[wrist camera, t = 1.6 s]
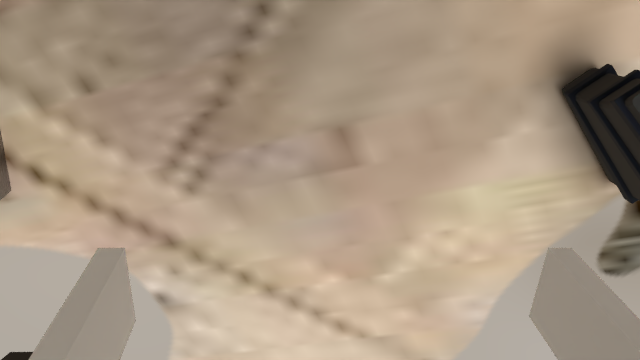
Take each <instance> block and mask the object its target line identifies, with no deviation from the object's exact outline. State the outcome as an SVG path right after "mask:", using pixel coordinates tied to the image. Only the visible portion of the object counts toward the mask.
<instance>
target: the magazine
mask: <svg viewBox="0 0 640 360" xmlns="http://www.w3.org/2000/svg"><path fill="white" fill-rule="evenodd" d="M562 92H563V94H564V96H565V98H566V100H567V102H568V103H569V105H570V107H571V109H572V111H573V113H574V115H575V117H576V119H577V120H578V122H579V124H580V126H581V128H582V130H583V132H584V134H585V136H586V137H587V139H588V141H589V143H590V145H591V147H592V149H593V151H594V152H595V154H596V156H597V158H598V160H599V162H600V164H601V166H602V168H603V169H604V171H605V173H606V175H607V177H608V179H609V181H611V182H612V183H614V184H615V185H617V187H618V188H619V190H620V192H621V194H622V195H623V197H624V199H626V200H627V201H629V202H630V203H634V202H636V201H637V200H640V71H639V70H634V71H632V72H631V73H629V74H628V75H626V76H625V77H622V76H618V75H617V73H616V71H615V70H614V68H613V66H612V65H610V64H606V65H605V66H603V67H602V68H600V69H597V68H592V69H590V70H589V71H587V72H586V73H584V74H583V75H581V76H580V77H578V78H577V79H575V80H574V81H572V82H571V83H569V84H568V85H566V86H565V87H564V88H563V89H562Z"/></svg>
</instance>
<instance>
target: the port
mask: <svg viewBox="0 0 640 360" xmlns="http://www.w3.org/2000/svg"><path fill="white" fill-rule="evenodd" d="M10 191H11V188H10V182H9V177H8V171H7V166H6V160H5V155H4V149H3V144H2V138H1V133H0V200H1V199H2V198H3V197H4V196H5V195H7V194H8V193H9V192H10Z"/></svg>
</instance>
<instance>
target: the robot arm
mask: <svg viewBox="0 0 640 360" xmlns="http://www.w3.org/2000/svg"><path fill="white" fill-rule="evenodd" d="M529 317H530V318H531V320H532V321H533V323H534V324H535V326H536V327H537V329H538V330H539V332H540V333H541V335H542V336H543V338H544V339H545V341H546V342H547V344H548V345H549V347H550V348H551V350H552V351H553V353H554V354H555V356H556V357H557V359H558V360H640V319H639V318H638V317H637V316H636V315H635V314H634V313H633V312H632V311H631V310H630V309H629V308H628V307H627V306H626V305H625V303H624V302H622V300H621V299H620V298H619V297H618V296H617V295H616V294H615V293H614V292H613V291H612V290H611V289H610V288H609V287H608V286H607V285H606V284H605V283H604V282H603V280H602V279H600V277H599V276H597V274H596V273H595V272H594V271H593V270H592V269H591V268H590V267H589V266H588V265H587V264H586V263H585V262H584V261H583V260H582V259H581V258H580V257H579V255H578V254H577V253H576V252H575V251H574V250H573V249H572V248H548V251H547V255H546V258H545V262H544V265H543V269H542V272H541V276H540V279H539V283H538V286H537V290H536V293H535V297H534V301H533V304H532V308H531V312H530V315H529ZM135 321H136V320H135V313H134V306H133V299H132V294H131V286H130V280H129V273H128V266H127V260H126V253H125V248H98V249H97V251H96V253H95V254H94V256H93V257H92V259H91V261H90V262H89V264H88V266H87V267H86V269H85V270H84V272H83V273H82V275H81V277H80V278H79V280H78V281H77V283H76V285H75V286H74V288H73V289H72V291H71V293H70V294H69V296H68V297H67V299H66V301H65V302H64V304H63V305H62V307H61V309H60V310H59V312H58V313H57V315H56V317H55V318H54V320H53V322H52V323H51V324H50V326H49V328H48V330H47V331H46V333H45V334H44V336H43V337H42V339H41V341H40V342H39V344H38V345H37V347H36V349H35V350H34V352H10V353H9V354H8V355H6V356H5V357H4V358H3V359H2V360H120V358H121V356H122V353H123V351H124V348H125V346H126V343H127V341H128V338H129V336H130V333H131V331H132V328H133V326H134V323H135Z"/></svg>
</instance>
